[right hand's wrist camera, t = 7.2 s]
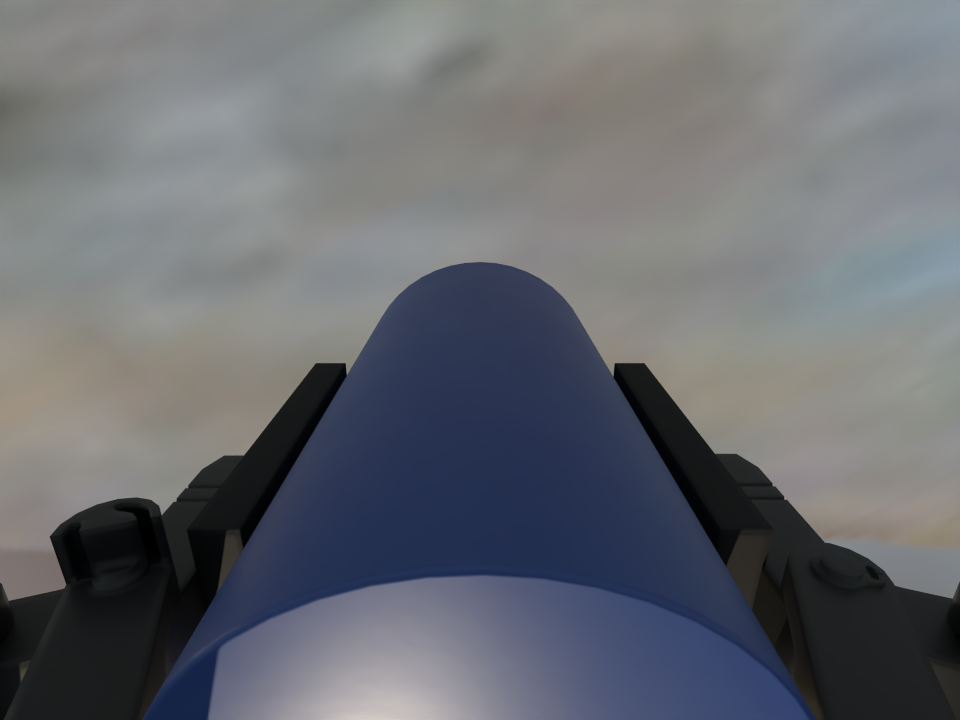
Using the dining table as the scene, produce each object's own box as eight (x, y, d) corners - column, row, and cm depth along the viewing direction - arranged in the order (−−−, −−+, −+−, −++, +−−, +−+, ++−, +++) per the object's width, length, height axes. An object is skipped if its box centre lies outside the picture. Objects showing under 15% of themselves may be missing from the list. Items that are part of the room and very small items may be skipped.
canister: (332, 406, 17) (37, 915, 6) (436, 216, 15) (300, 419, 4) (514, 498, 19) (572, 1068, 7) (634, 334, 16) (998, 764, 5)
